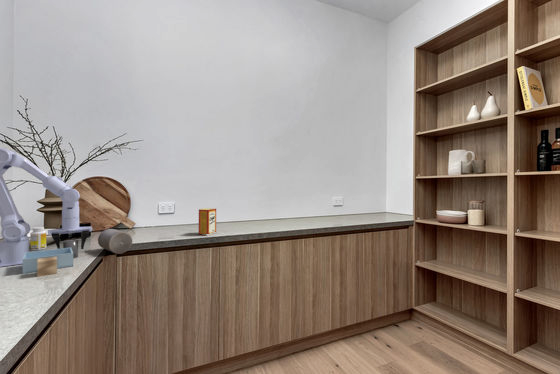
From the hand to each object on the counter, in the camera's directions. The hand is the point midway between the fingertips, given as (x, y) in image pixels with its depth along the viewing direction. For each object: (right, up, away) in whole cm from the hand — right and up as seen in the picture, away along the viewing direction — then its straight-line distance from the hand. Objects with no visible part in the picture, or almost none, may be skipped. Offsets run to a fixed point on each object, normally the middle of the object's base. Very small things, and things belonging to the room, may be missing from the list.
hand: (70, 250), depth 113 cm
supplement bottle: (-25, -3, +13) cm, 28 cm away
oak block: (+7, -3, -20) cm, 22 cm away
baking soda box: (+43, -3, +55) cm, 70 cm away
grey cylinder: (0, -3, 0) cm, 3 cm away
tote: (+1, -3, -12) cm, 13 cm away
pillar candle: (+6, +2, +15) cm, 17 cm away
